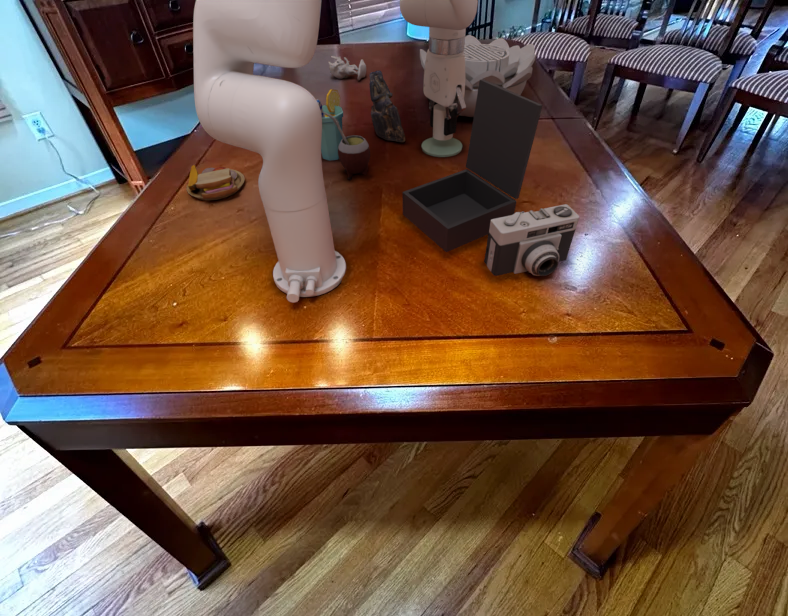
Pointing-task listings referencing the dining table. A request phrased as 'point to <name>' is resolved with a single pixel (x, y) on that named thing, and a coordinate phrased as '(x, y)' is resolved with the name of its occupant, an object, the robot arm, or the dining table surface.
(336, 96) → the cup
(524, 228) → the camera
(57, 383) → the dining table surface
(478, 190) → the hinged lid box
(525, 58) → the decorative bowl
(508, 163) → the box lid
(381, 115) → the statue
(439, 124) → the white cylinder
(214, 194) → the toy sandwich meal
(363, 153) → the mate gourd
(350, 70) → the figurine
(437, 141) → the saucer
